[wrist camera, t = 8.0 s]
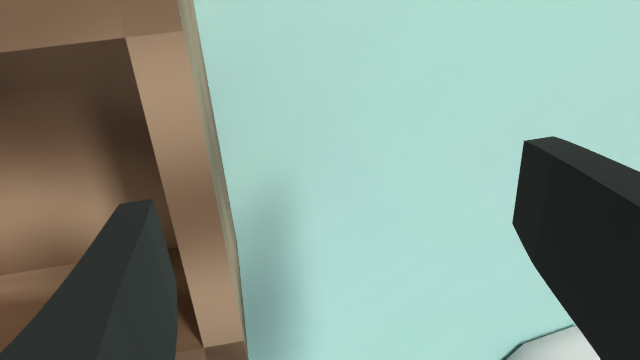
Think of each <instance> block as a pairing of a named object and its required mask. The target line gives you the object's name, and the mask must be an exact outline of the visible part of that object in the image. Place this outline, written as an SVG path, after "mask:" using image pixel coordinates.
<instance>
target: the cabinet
mask: <svg viewBox="0 0 640 360" xmlns="http://www.w3.org/2000/svg"><path fill="white" fill-rule="evenodd" d="M147 199H154V202H155V206H156V210H157V213H158V217H159V221H160V224H161V228H162V231H163V235H164V239H165V242H166V246H167V249H168V253H169V257H170V260H171V264H172V268H173V271H174V275H175V278H176V288H177V315H178V332H177V344H176V355H175V360H248V351H247V341H246V330H245V320H244V310H243V299H242V289H241V279H240V268H239V258H238V248H237V241H236V236H235V230H234V225H233V219H232V214H231V208H230V203H229V197H228V192H227V186H226V181H225V175H224V170H223V164H222V159H221V153H220V148H219V142H218V137H217V131H216V126H215V120H214V115H213V109H212V104H211V98H210V93H209V87H208V82H207V76H206V71H205V65H204V59H203V54H202V48H201V43H200V37H199V32H198V26H197V21H196V15H195V10H194V4H193V0H0V353H1V352H2V351H3V350H4V349H5V348H6V347H7V346H8V345H9V344H10V343H11V342H12V341H13V340H14V339H15V338H16V337H17V335H18V334H19V333H20V332H21V331H22V330H23V329H24V328H25V327H26V326H27V325H28V324H29V323H30V321H31V320H32V319H33V318H34V317H35V316H36V314H37V313H38V312H39V311H40V310H41V308H42V307H43V306H44V305H45V304H46V302H47V301H48V300H49V299H50V298H51V296H52V295H53V294H54V293H55V292H56V290H57V289H58V288H59V287H60V285H61V284H62V283H63V281H64V280H65V279H66V278H67V276H68V275H69V274H70V272H71V271H72V269H73V268H74V267H75V265H76V264H77V263H78V261H79V260H80V259H81V257H82V256H83V255H84V253H85V252H86V251H87V249H88V248H89V246H90V245H91V243H92V242H93V241H94V239H95V238H96V236H97V235H98V233H99V232H100V231H101V229H102V228H103V226H104V225H105V223H106V222H107V220H108V219H109V218H110V216H111V215H112V213H113V212H114V211H115V209H116V208H117V207H118V205H119V204H122V203H128V202H134V201H141V200H147Z"/></svg>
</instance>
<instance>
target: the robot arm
mask: <svg viewBox="0 0 640 360" xmlns="http://www.w3.org/2000/svg"><path fill="white" fill-rule="evenodd" d="M512 224H513V226H514V228H515V230H516V232H517V234H518V236H519V238H520V240H521V242H522V244H523V246H524V248H525V250H526V252H527V254H528V256H529V257H530V259H531V261H532V263H533V265H534V266H535V268H536V269H537V271H538V272H539V274H540V275H541V276H542V278H543V279H544V281H545V282H546V284H547V285H548V286H549V288H550V289H551V291H552V292H553V293H554V295H555V296H556V298H557V299H558V300H559V302H560V303H561V305H562V306H563V307H564V309H565V310H566V312H567V313H568V314H569V316H570V317H571V319H572V320H573V321H574V323H575V324H576V326H577V327H578V328H579V330H580V331H581V332H582V334H583V335H584V337H585V338H586V339H587V341H588V342H589V344H590V345H591V346H592V348H593V349H594V351H595V352H596V353H597V355H598V356H599V358H600V360H640V172H639V171H636V170H634V169H632V168H629V167H627V166H625V165H623V164H620V163H618V162H616V161H613V160H611V159H609V158H607V157H604V156H602V155H600V154H597V153H595V152H593V151H590V150H588V149H586V148H583V147H581V146H578V145H576V144H573V143H571V142H568V141H566V140H563V139H560V138H557V137H546V138H540V139H533V140H527V141H524V145H523V152H522V159H521V166H520V173H519V180H518V187H517V195H516V202H515V209H514V216H513V223H512ZM177 332H178V315H177V288H176V278H175V275H174V271H173V268H172V264H171V260H170V257H169V253H168V249H167V246H166V242H165V239H164V235H163V231H162V228H161V224H160V221H159V217H158V213H157V210H156V206H155V202H154V199H147V200H141V201H134V202H128V203H122V204H119V205H118V207H117V208H116V209H115V211H114V212H113V213H112V215H111V216H110V218H109V219H108V220H107V222H106V223H105V225H104V226H103V228H102V229H101V231H100V232H99V233H98V235H97V236H96V238H95V239H94V241H93V242H92V243H91V245H90V246H89V248H88V249H87V251H86V252H85V253H84V255H83V256H82V257H81V259H80V260H79V261H78V263H77V264H76V265H75V267H74V268H73V269H72V271H71V272H70V274H69V275H68V276H67V278H66V279H65V280H64V281H63V283H62V284H61V285H60V287H59V288H58V289H57V290H56V292H55V293H54V294H53V295H52V296H51V298H50V299H49V300H48V301H47V302H46V304H45V305H44V306H43V307H42V308H41V310H40V311H39V312H38V313H37V314H36V316H35V317H34V318H33V319H32V320H31V321H30V323H29V324H28V325H27V326H26V327H25V328H24V329H23V330H22V331H21V332H20V333H19V334H18V335H17V337H16V338H15V339H14V340H13V341H12V342H11V343H10V344H9V345H8V346H7V347H6V348H5V349H4V350H3V351H2V352H1V353H0V360H175V355H176V344H177Z"/></svg>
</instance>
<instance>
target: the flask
mask: <svg viewBox="0 0 640 360" xmlns="http://www.w3.org/2000/svg"><path fill="white" fill-rule="evenodd" d="M506 360H600V358H599V356H598V355H597V353H596V352H595V351H594V349H593V348H592V346H591V345H590V344H589V342H588V341H587V339H586V338H585V337H584V335H583V334H582V332H581V331H580V330H579V328H578V327H577V326H573V327H570V328H567V329H564V330H561V331H558V332H555V333H553V334H550V335H547V336H544V337H541V338H538V339H535V340H532V341H530V342H527V343H524V344H523V345H522V346H521V347H519V348H518V349H517V350H516V351H515V352H514V353H513V354H512V355H511V356H510V357H508V358H507V359H506Z"/></svg>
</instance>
